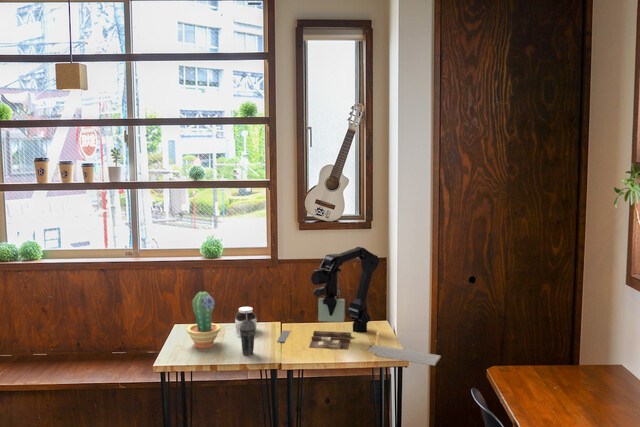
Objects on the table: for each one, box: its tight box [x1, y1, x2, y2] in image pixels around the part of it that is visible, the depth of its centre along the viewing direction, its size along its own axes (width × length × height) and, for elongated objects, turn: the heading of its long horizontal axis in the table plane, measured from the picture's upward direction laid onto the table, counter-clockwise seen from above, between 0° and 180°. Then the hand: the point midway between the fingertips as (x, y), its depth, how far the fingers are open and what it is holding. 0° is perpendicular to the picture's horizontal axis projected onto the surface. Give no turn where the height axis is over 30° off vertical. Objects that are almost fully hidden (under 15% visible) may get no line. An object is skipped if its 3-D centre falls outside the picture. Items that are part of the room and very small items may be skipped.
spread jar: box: [234, 306, 258, 337], centre depth 296 cm, size 12×11×12 cm
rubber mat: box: [276, 330, 291, 344], centre depth 290 cm, size 14×16×1 cm
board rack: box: [308, 330, 352, 351], centre depth 281 cm, size 18×18×3 cm
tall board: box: [317, 297, 346, 323], centre depth 284 cm, size 12×4×10 cm, turn 83°
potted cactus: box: [186, 291, 221, 349], centre depth 278 cm, size 15×15×25 cm
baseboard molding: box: [366, 344, 442, 367], centre depth 266 cm, size 31×3×12 cm
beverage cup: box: [239, 311, 257, 357], centre depth 267 cm, size 7×7×20 cm
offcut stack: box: [318, 337, 341, 348], centre depth 276 cm, size 10×4×4 cm, turn 83°
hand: (331, 314), depth 284 cm, fingers closed on tall board, 4 cm apart
